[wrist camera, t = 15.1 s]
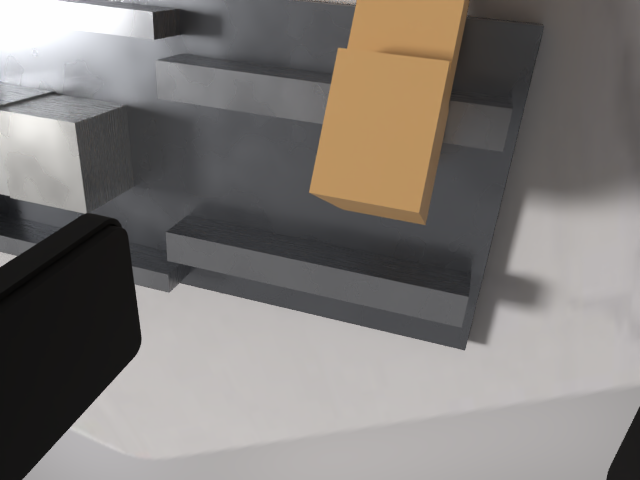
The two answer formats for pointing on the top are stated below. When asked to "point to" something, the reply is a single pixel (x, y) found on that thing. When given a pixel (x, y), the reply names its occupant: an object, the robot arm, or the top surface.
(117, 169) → the grey cube
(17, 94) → the chip
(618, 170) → the top surface
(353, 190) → the tan stepped beam
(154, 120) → the slot board
